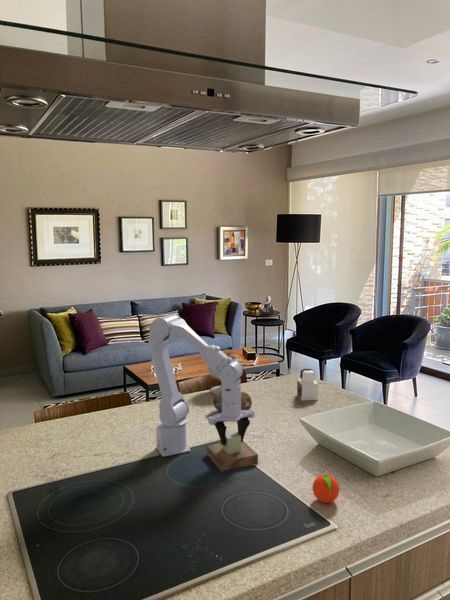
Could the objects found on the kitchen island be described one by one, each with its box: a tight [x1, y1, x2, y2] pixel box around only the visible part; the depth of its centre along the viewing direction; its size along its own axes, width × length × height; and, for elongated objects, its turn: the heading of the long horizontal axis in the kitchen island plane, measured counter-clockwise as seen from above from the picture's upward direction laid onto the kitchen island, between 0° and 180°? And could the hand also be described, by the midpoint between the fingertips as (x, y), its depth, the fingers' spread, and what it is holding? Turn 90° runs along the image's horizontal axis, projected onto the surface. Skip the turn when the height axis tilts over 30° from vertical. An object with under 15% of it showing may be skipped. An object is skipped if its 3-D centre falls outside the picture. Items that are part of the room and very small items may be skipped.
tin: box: [212, 391, 253, 413], centre depth 193 cm, size 15×3×8 cm, turn 75°
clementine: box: [312, 473, 340, 504], centre depth 130 cm, size 8×7×7 cm
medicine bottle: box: [296, 368, 319, 402], centre depth 208 cm, size 7×7×12 cm
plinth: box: [206, 440, 259, 472], centre depth 154 cm, size 12×12×3 cm
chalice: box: [206, 354, 238, 395], centre depth 217 cm, size 14×14×15 cm
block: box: [222, 430, 241, 454], centre depth 154 cm, size 4×4×5 cm
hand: (231, 442), depth 154 cm, fingers open, 5 cm apart
